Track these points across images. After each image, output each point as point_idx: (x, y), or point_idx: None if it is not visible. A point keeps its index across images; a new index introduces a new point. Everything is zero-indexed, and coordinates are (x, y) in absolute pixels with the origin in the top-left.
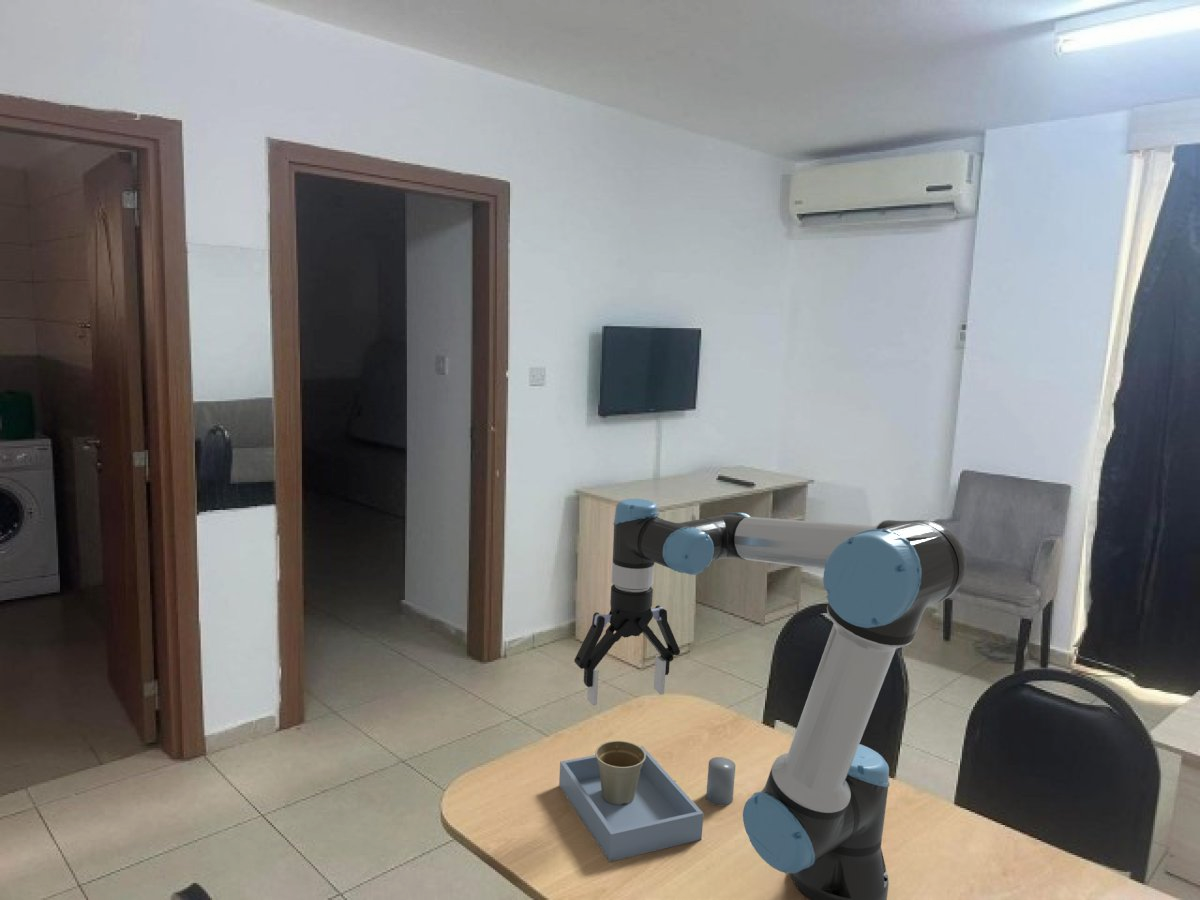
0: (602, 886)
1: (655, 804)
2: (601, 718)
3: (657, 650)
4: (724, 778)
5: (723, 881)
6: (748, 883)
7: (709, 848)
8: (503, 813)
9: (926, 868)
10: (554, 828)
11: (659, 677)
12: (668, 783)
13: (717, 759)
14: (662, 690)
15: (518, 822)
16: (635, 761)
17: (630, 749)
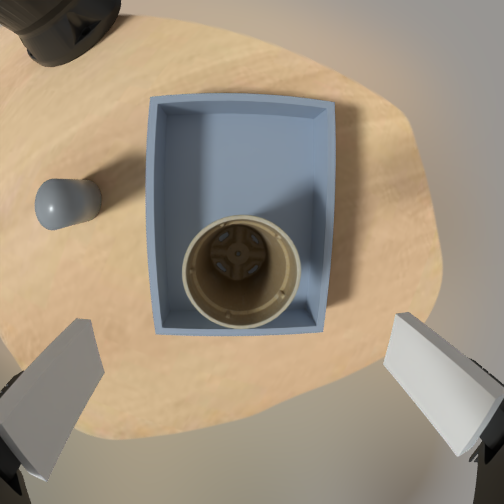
0: (344, 82)
1: (187, 208)
2: (179, 431)
3: (26, 500)
4: (65, 179)
5: (188, 34)
6: (161, 27)
7: (163, 90)
8: (400, 271)
9: (6, 47)
10: (360, 215)
11: (62, 376)
12: (156, 211)
13: (52, 222)
14: (75, 327)
15: (393, 246)
16: (198, 275)
17: (201, 300)
